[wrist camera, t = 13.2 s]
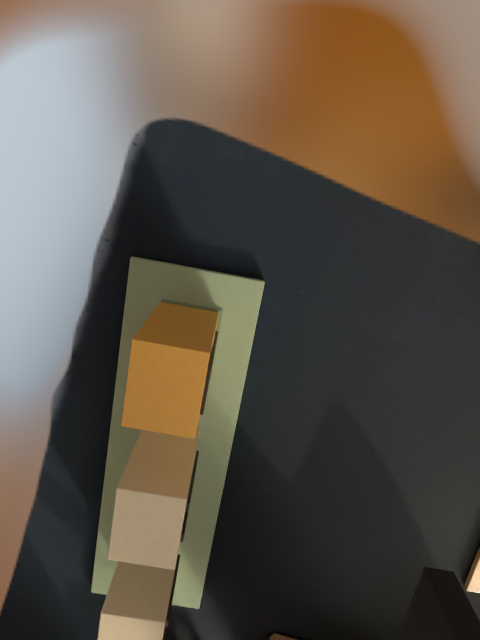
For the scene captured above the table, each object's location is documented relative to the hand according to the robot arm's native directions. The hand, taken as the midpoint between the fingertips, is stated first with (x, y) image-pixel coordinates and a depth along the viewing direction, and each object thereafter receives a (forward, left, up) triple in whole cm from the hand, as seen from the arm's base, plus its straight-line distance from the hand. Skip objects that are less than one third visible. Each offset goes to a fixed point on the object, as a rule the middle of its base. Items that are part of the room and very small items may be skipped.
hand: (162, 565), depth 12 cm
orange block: (+1, -2, -20) cm, 21 cm away
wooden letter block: (+19, -2, -21) cm, 28 cm away
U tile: (+10, -2, -21) cm, 23 cm away
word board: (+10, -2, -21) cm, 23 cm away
